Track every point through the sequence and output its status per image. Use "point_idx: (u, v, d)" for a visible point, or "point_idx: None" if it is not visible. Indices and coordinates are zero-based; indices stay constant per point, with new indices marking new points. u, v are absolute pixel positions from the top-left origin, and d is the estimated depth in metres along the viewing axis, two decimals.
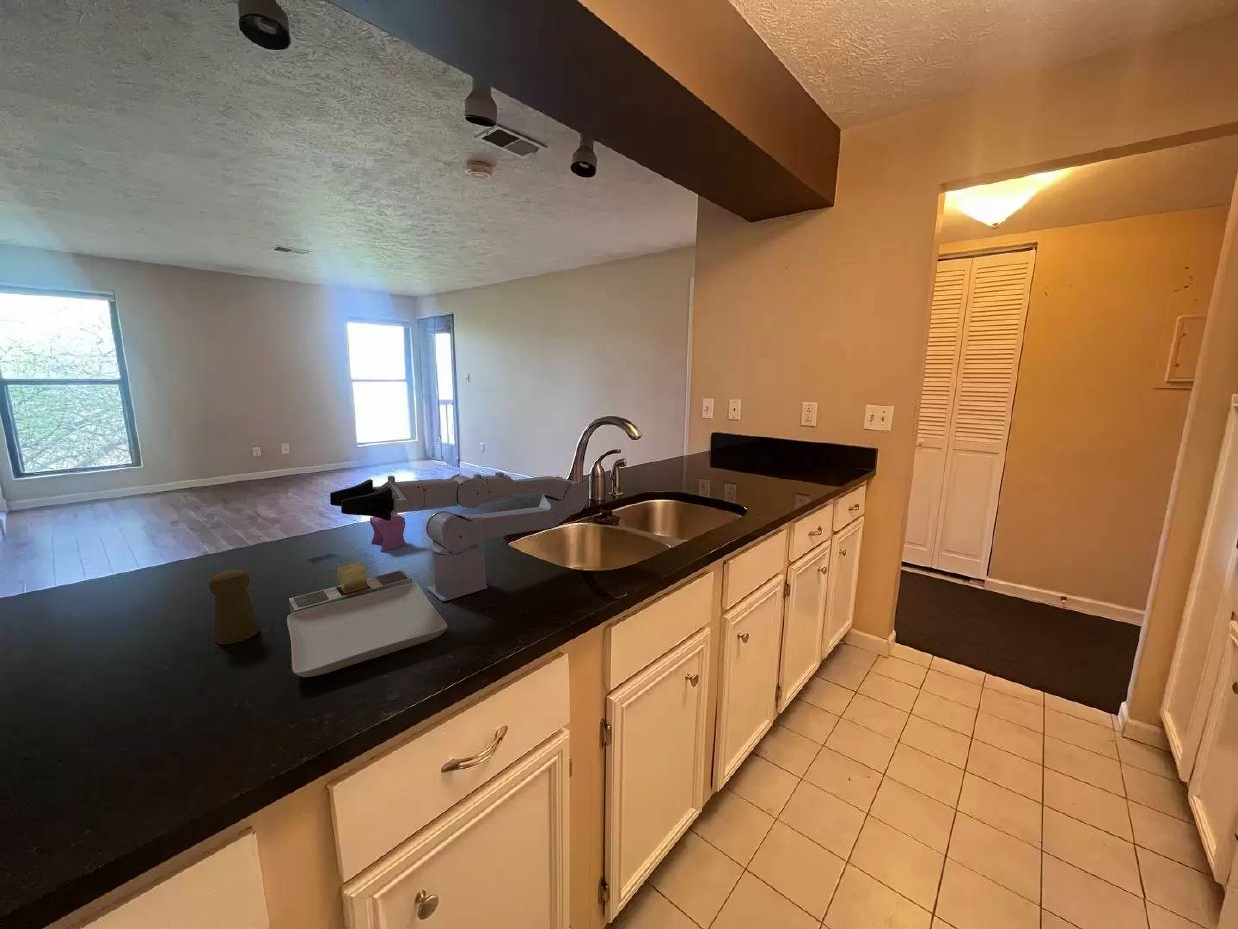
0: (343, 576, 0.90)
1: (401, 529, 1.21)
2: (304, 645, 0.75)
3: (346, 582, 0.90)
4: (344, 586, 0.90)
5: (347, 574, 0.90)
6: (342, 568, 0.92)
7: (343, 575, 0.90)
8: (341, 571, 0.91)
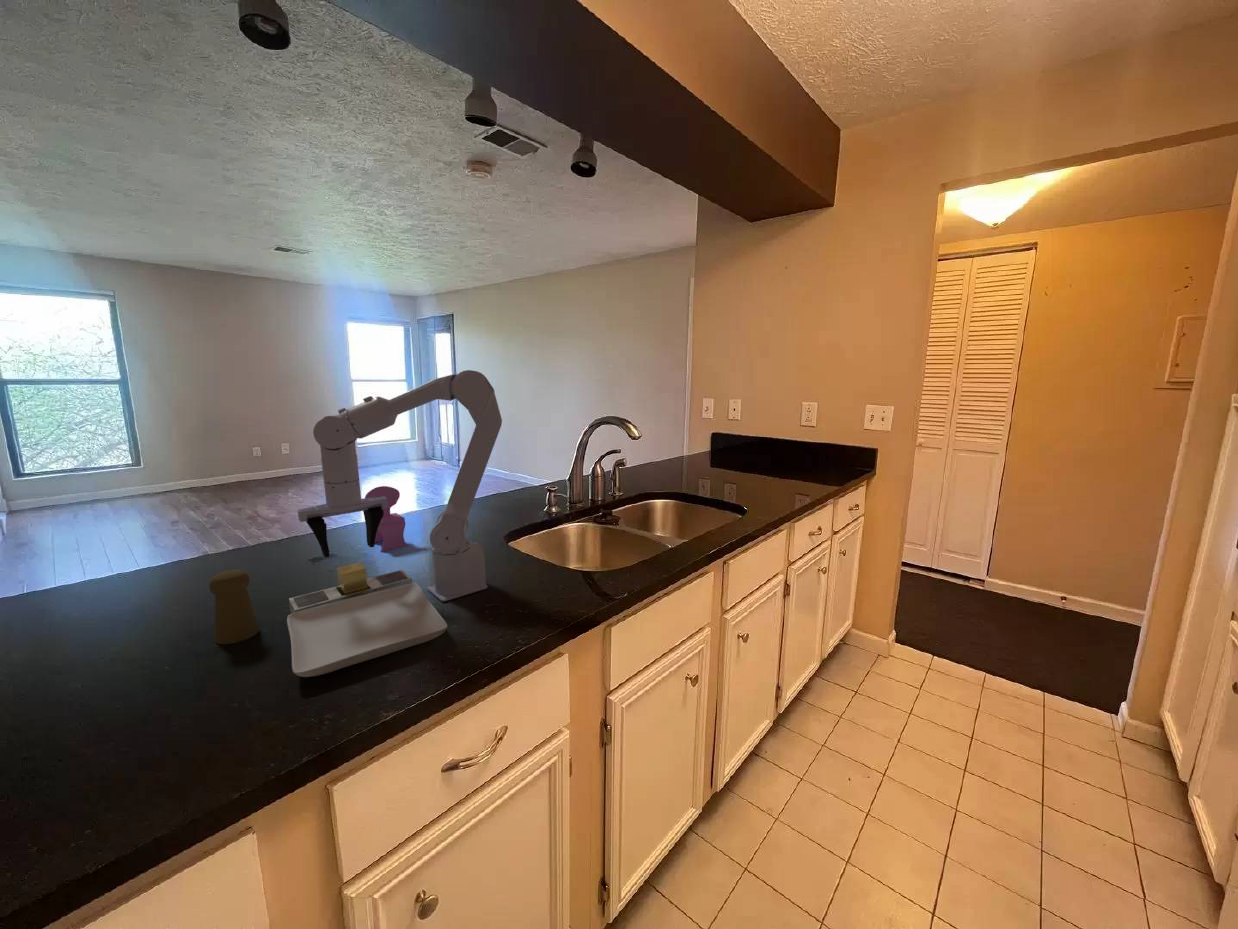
0: (343, 576, 0.90)
1: (401, 529, 1.21)
2: (304, 645, 0.75)
3: (346, 582, 0.90)
4: (344, 586, 0.90)
5: (347, 574, 0.90)
6: (342, 568, 0.92)
7: (343, 575, 0.90)
8: (341, 571, 0.91)
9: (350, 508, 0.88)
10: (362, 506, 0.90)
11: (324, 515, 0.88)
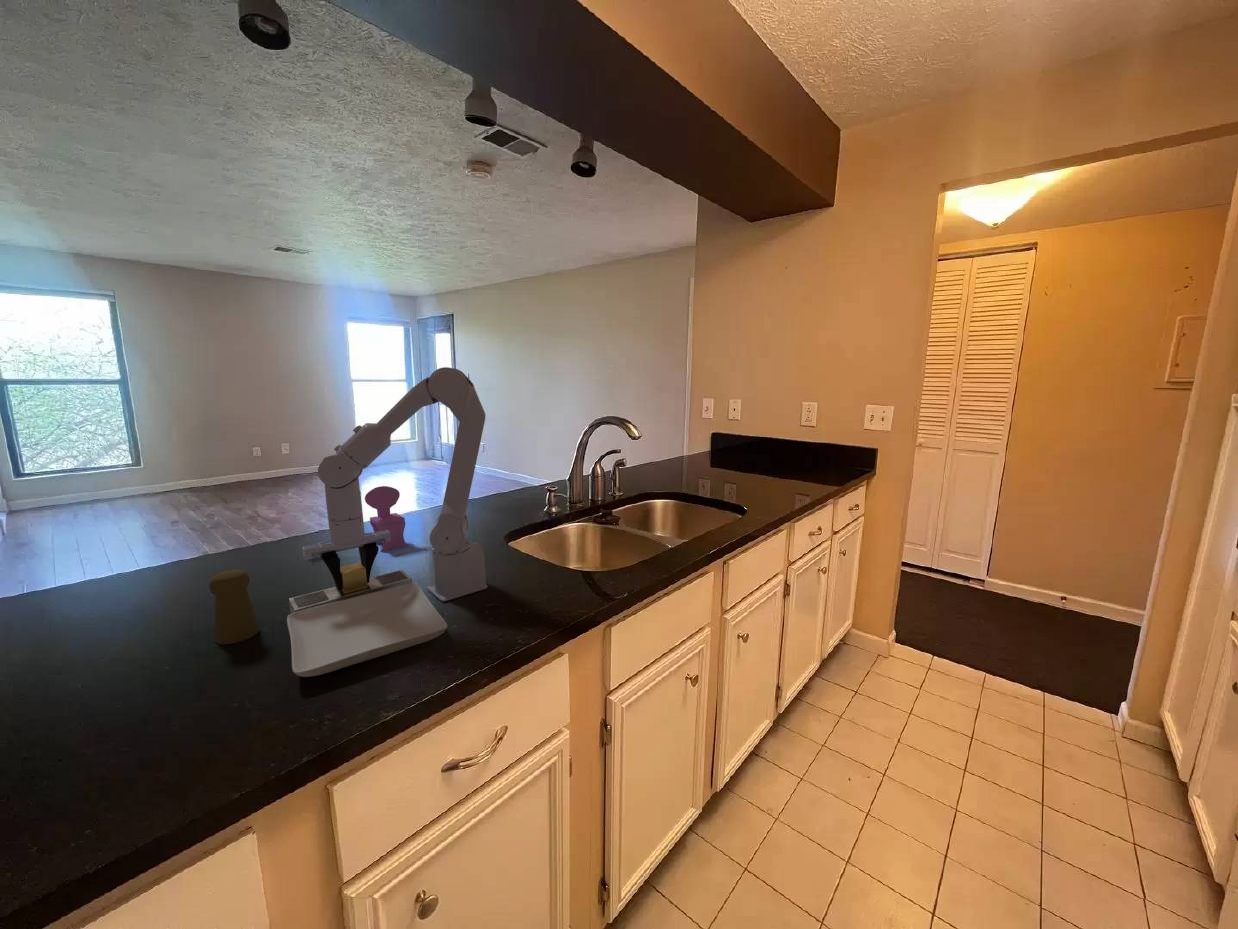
0: (343, 576, 0.90)
1: (401, 529, 1.21)
2: (304, 645, 0.75)
3: (346, 582, 0.90)
4: (344, 586, 0.90)
5: (347, 574, 0.90)
6: (342, 568, 0.92)
7: (343, 575, 0.90)
8: (341, 571, 0.91)
9: (354, 544, 0.89)
10: (365, 541, 0.91)
11: (328, 551, 0.89)
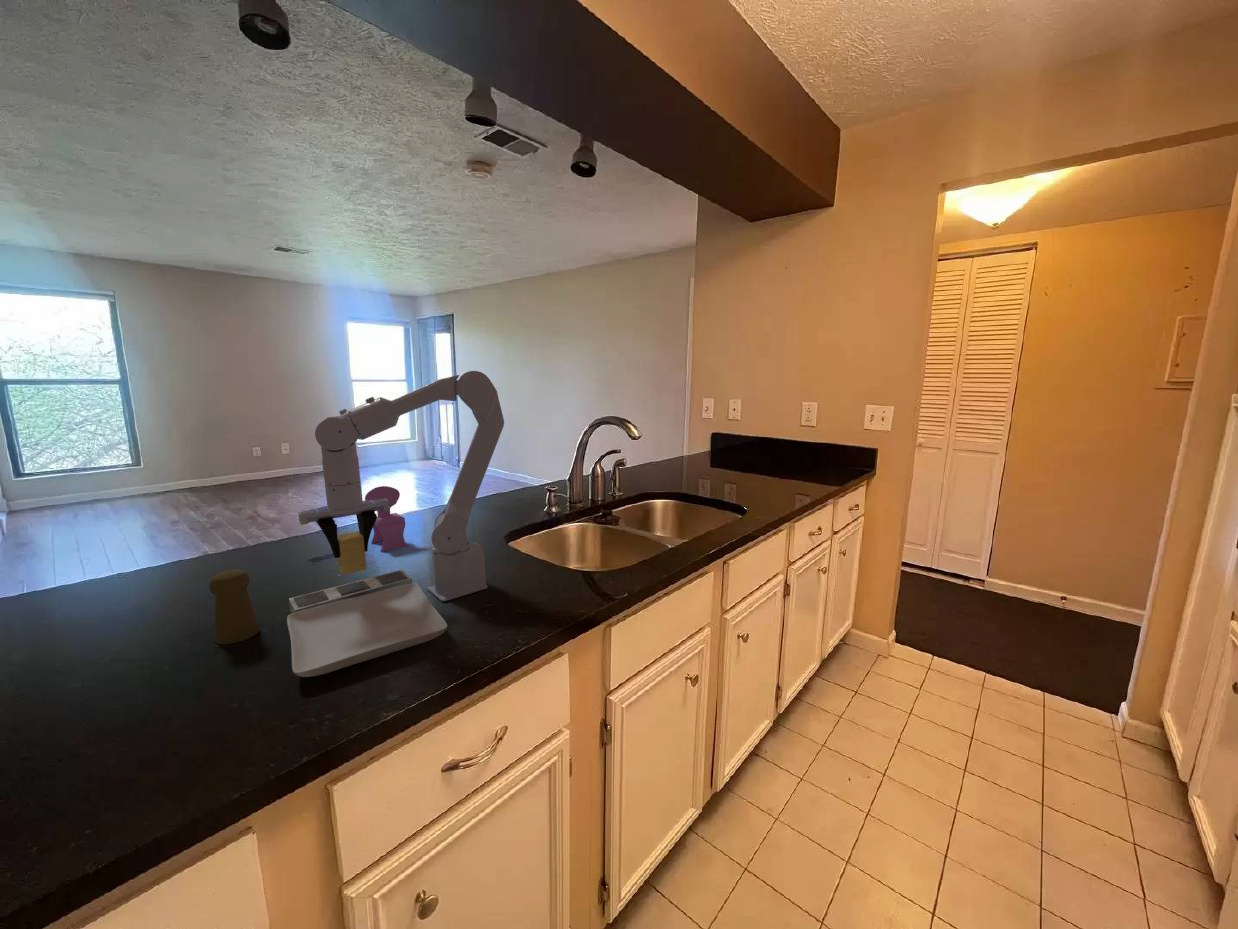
0: (340, 543, 0.88)
1: (401, 529, 1.21)
2: (304, 645, 0.75)
3: (343, 550, 0.88)
4: (341, 554, 0.88)
5: (344, 541, 0.88)
6: (339, 536, 0.90)
7: (340, 542, 0.88)
8: (338, 538, 0.89)
9: (351, 510, 0.87)
10: (363, 508, 0.89)
11: (325, 517, 0.87)
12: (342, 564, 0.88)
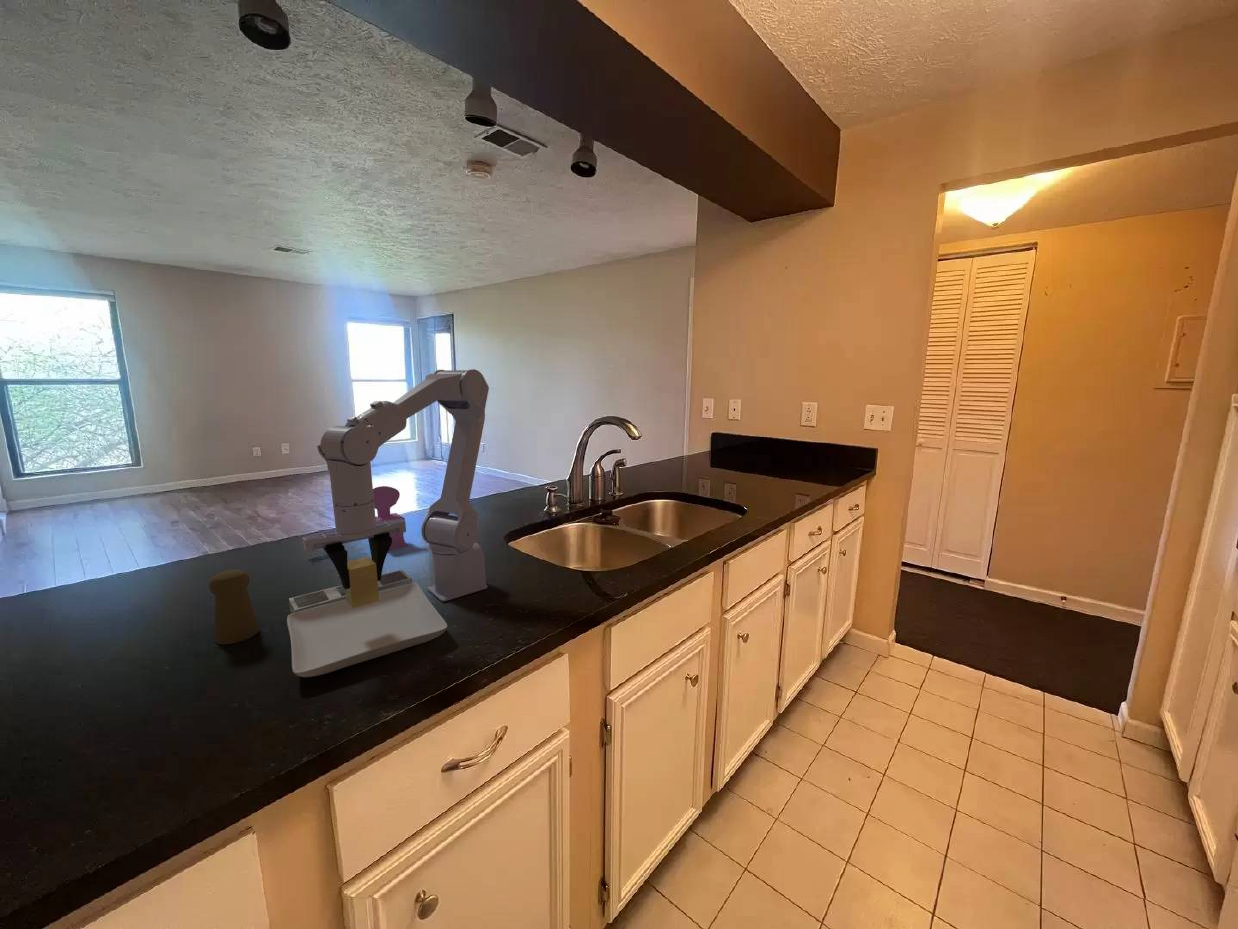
0: (350, 573, 0.76)
1: None
2: (304, 645, 0.75)
3: (353, 580, 0.77)
4: (351, 584, 0.77)
5: (354, 570, 0.77)
6: (348, 563, 0.79)
7: (350, 572, 0.76)
8: None
9: (364, 535, 0.75)
10: (377, 531, 0.77)
11: (333, 543, 0.75)
12: (352, 596, 0.77)
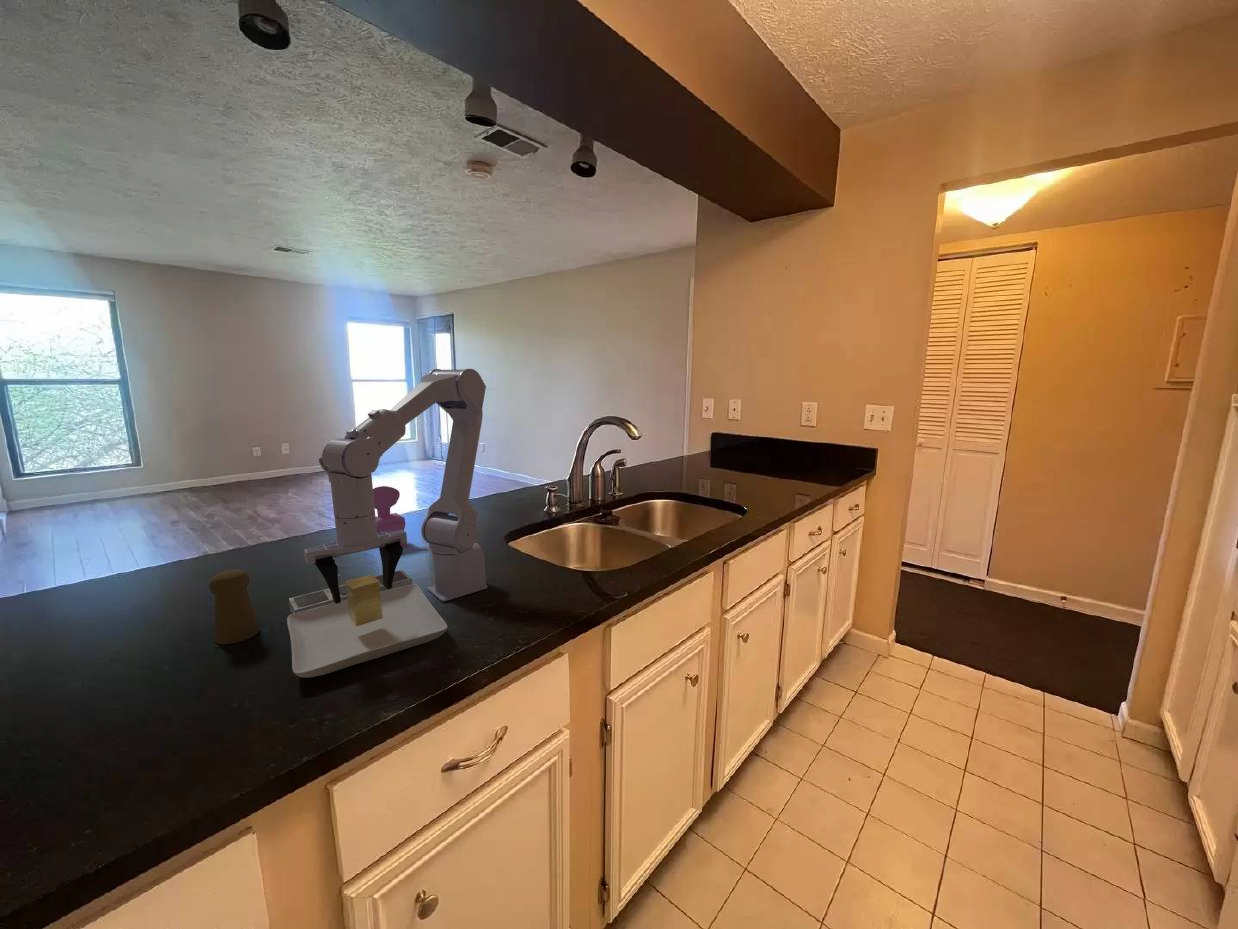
0: (353, 591, 0.77)
1: (401, 529, 1.21)
2: (304, 646, 0.75)
3: (356, 598, 0.77)
4: (355, 603, 0.77)
5: (358, 589, 0.77)
6: (352, 581, 0.79)
7: (354, 590, 0.77)
8: (351, 585, 0.78)
9: (365, 546, 0.76)
10: (378, 543, 0.78)
11: (335, 555, 0.75)
12: (356, 614, 0.78)
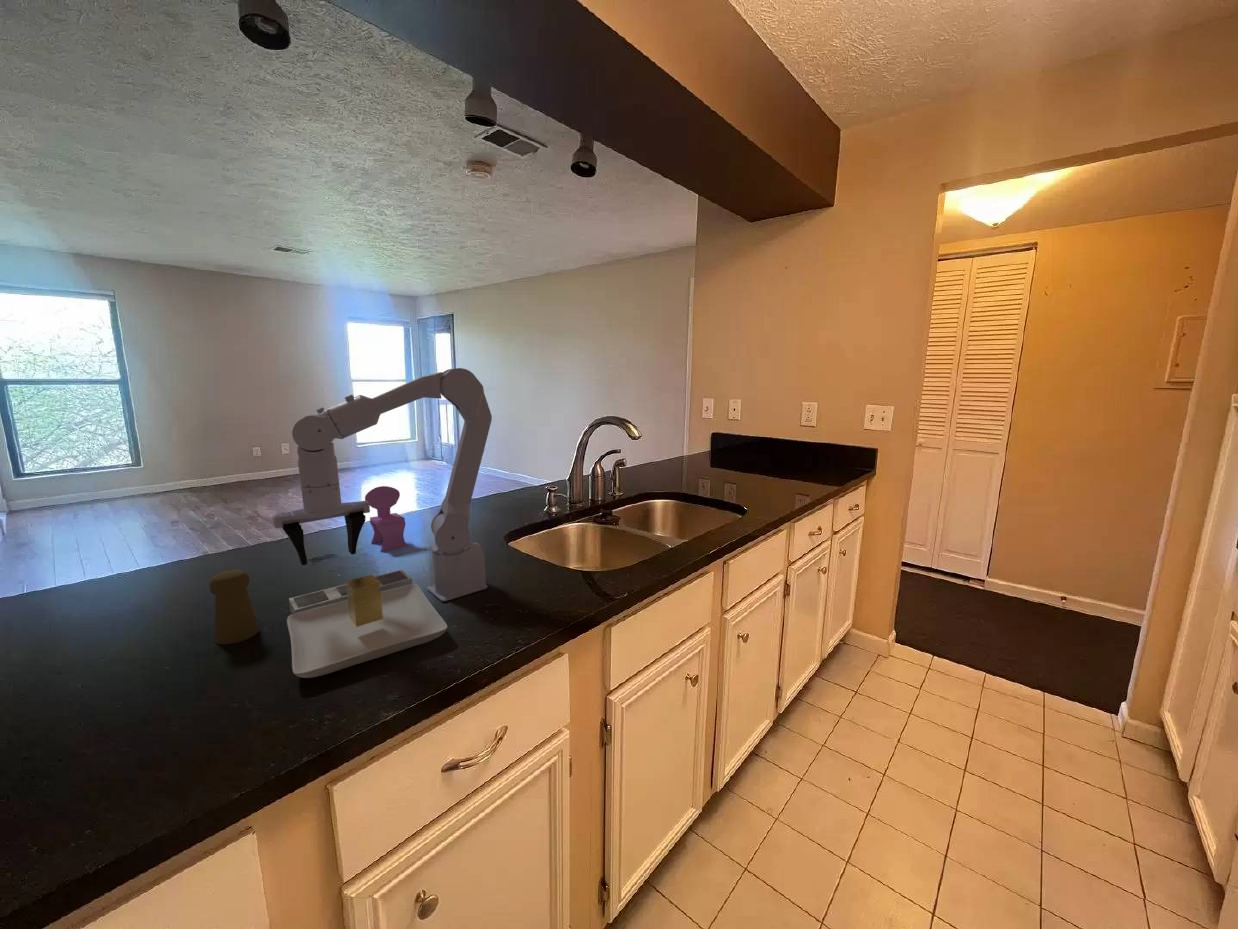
0: (354, 591, 0.77)
1: (401, 529, 1.21)
2: (304, 646, 0.75)
3: (357, 599, 0.77)
4: (355, 603, 0.77)
5: (358, 589, 0.77)
6: (352, 582, 0.79)
7: (354, 590, 0.77)
8: (351, 585, 0.78)
9: (329, 513, 0.83)
10: (342, 511, 0.85)
11: (301, 521, 0.83)
12: (356, 615, 0.78)
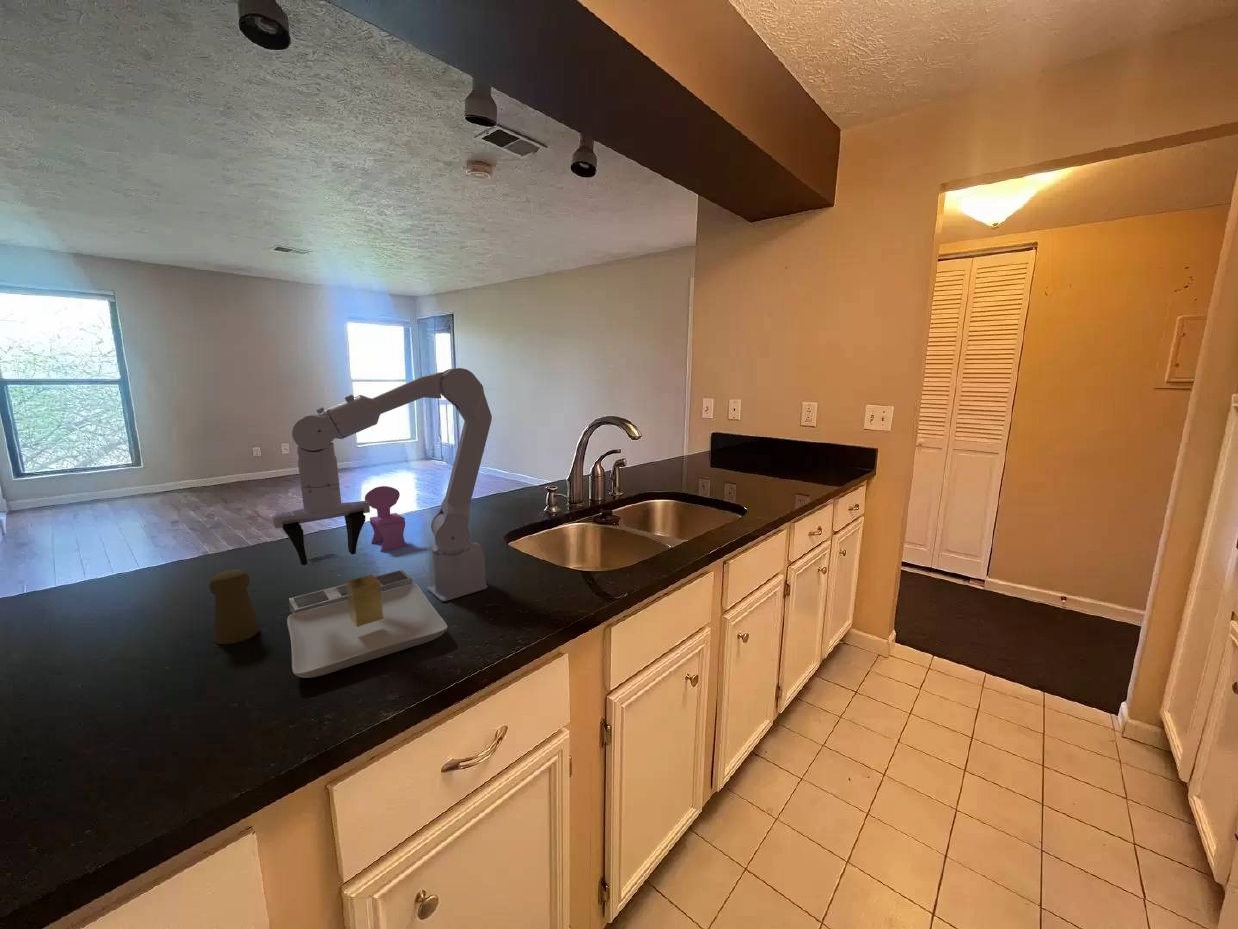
0: (354, 591, 0.77)
1: (401, 529, 1.21)
2: (304, 646, 0.75)
3: (357, 599, 0.77)
4: (355, 603, 0.77)
5: (358, 589, 0.77)
6: (352, 582, 0.79)
7: (354, 590, 0.77)
8: (351, 585, 0.78)
9: (329, 513, 0.83)
10: (342, 511, 0.85)
11: (301, 521, 0.83)
12: (356, 615, 0.77)
